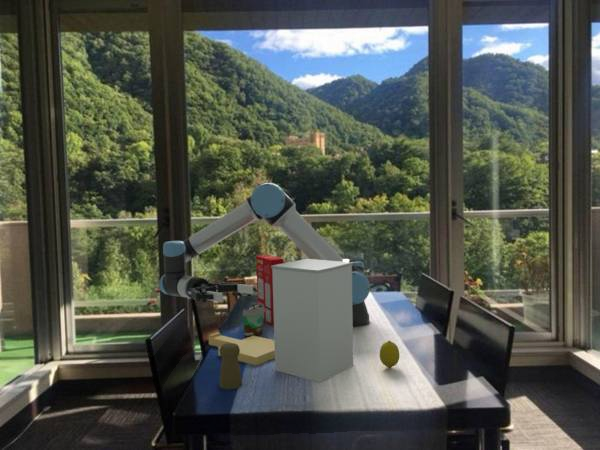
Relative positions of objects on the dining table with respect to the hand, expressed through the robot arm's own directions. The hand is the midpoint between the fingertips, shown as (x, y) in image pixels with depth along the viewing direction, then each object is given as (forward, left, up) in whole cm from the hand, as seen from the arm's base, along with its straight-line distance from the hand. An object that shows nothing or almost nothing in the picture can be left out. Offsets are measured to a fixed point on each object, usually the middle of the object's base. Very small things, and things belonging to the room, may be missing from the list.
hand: (237, 293), depth 168 cm
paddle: (0, +1, -18) cm, 18 cm away
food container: (-14, -12, -19) cm, 26 cm away
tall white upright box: (-8, +29, -18) cm, 35 cm away
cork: (+17, +25, -19) cm, 35 cm away
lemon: (-24, +43, -19) cm, 53 cm away
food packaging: (-28, -24, -19) cm, 41 cm away
